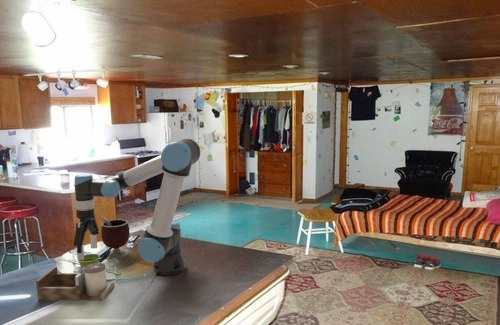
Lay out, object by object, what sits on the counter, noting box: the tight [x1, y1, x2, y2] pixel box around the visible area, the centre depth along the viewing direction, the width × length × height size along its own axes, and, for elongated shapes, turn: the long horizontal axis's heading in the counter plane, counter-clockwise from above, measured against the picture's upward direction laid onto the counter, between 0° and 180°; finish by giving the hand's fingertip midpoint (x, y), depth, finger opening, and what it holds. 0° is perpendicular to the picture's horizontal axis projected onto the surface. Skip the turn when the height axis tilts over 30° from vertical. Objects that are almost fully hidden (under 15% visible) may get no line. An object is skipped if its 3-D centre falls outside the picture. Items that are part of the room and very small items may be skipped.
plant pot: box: [77, 253, 100, 267], centre depth 183 cm, size 9×9×9 cm
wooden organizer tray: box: [35, 266, 116, 302], centre depth 165 cm, size 26×14×9 cm, turn 88°
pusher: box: [72, 266, 86, 296], centre depth 164 cm, size 4×11×10 cm, turn 178°
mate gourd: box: [99, 215, 130, 259], centre depth 207 cm, size 16×14×20 cm
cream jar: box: [84, 262, 108, 297], centre depth 164 cm, size 8×8×11 cm
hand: (87, 253), depth 182 cm, fingers open, 13 cm apart
